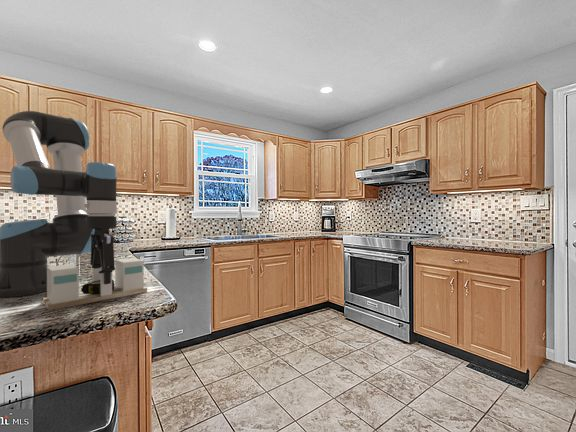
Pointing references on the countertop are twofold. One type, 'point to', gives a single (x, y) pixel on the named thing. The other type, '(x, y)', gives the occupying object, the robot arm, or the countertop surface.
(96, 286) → the tape measure
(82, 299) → the rail board
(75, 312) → the countertop surface
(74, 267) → the mounted modules
